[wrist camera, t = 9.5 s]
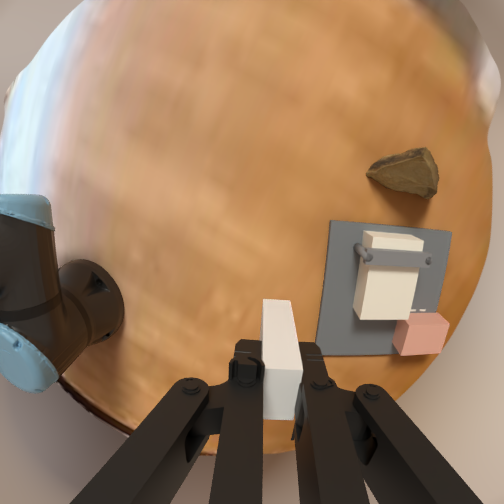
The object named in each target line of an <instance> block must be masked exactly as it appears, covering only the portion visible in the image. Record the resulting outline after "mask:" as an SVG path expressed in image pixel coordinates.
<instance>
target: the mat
mask: <svg viewBox="0 0 504 504" xmlns="http://www.w3.org/2000/svg"><path fill="white" fill-rule="evenodd" d="M363 231H375V232H387V233H399V234H410V235H413V236H415V237H417V238H419V239H421V240H423V241H424V244H423V250H422V251H423V252H429V253H431V254H432V256H431V258H432V263H431V264H430V267H429V268H421V267H420V268H419V273H418V278H417V283H416V288H415V293H414V298H413V302H412V306H411V311H410V313H436V310H437V306H438V302H439V298H440V294H441V289H442V285H443V280H444V276H445V271H446V266H447V260H448V255H449V249H450V243H451V237H452V232H450V231H443V230H433V229H424V228H414V227H404V226H394V225H383V224H372V223H360V222H348V221H335V220H330V225H329V236H328V246H327V256H326V265H325V273H324V282H323V290H322V297H321V305H320V312H319V319H318V326H317V332H316V339H315V344H316V345H318V346H319V347H320V349H321V353H322V355H381V354H399V352H398V351H397V349H396V348H395V346H394V345H393V343H392V340H393V336H394V332H395V328H396V324H397V320H360V319H359V317H358V315H357V314H356V312H355V310H354V308H353V302H354V296H355V290H356V283H357V277H358V270H359V263H360V255H359V254H358V253H357V252H356V251H355V250H354V249H353V246H354V244H355V243H359V244H360V245H362V240H363Z"/></svg>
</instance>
